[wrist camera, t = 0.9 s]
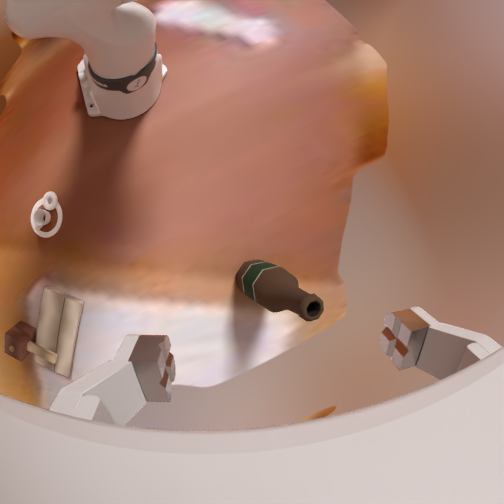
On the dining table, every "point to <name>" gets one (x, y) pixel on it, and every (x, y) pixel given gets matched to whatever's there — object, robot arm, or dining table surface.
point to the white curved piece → (38, 214)
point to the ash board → (58, 328)
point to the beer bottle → (277, 290)
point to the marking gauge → (25, 343)
